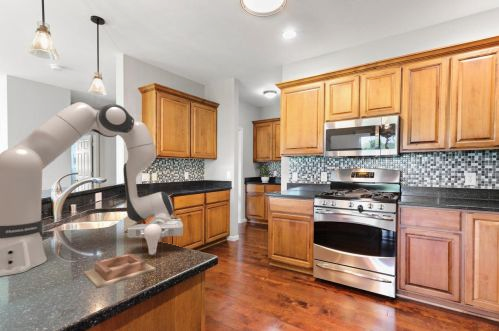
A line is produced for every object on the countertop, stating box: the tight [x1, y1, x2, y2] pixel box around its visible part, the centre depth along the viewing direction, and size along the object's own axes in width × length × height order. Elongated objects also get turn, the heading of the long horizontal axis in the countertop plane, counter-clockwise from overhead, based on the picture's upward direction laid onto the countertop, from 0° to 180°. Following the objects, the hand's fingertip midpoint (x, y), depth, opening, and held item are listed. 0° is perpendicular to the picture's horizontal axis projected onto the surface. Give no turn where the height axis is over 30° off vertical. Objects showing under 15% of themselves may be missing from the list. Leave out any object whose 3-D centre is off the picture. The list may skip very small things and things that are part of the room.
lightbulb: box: [144, 224, 162, 256], centre depth 90 cm, size 6×6×11 cm
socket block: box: [83, 253, 156, 289], centre depth 77 cm, size 16×14×3 cm
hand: (152, 235), depth 89 cm, fingers closed on lightbulb, 5 cm apart
